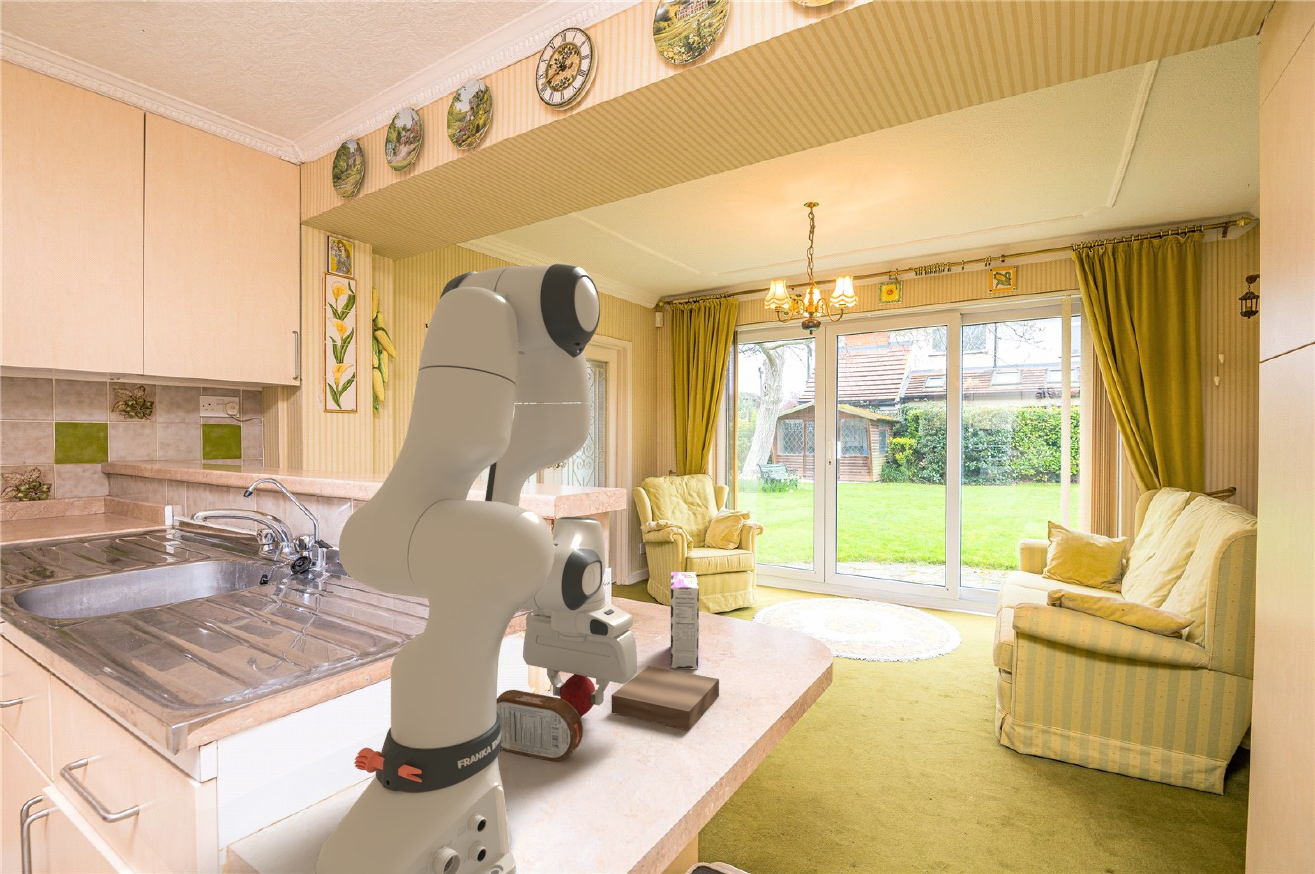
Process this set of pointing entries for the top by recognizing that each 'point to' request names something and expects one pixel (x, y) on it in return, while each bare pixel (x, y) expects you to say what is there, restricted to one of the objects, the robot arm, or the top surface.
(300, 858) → the top surface
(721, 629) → the top surface
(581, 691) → the onion
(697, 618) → the candy box
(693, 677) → the walnut block
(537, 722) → the tin
